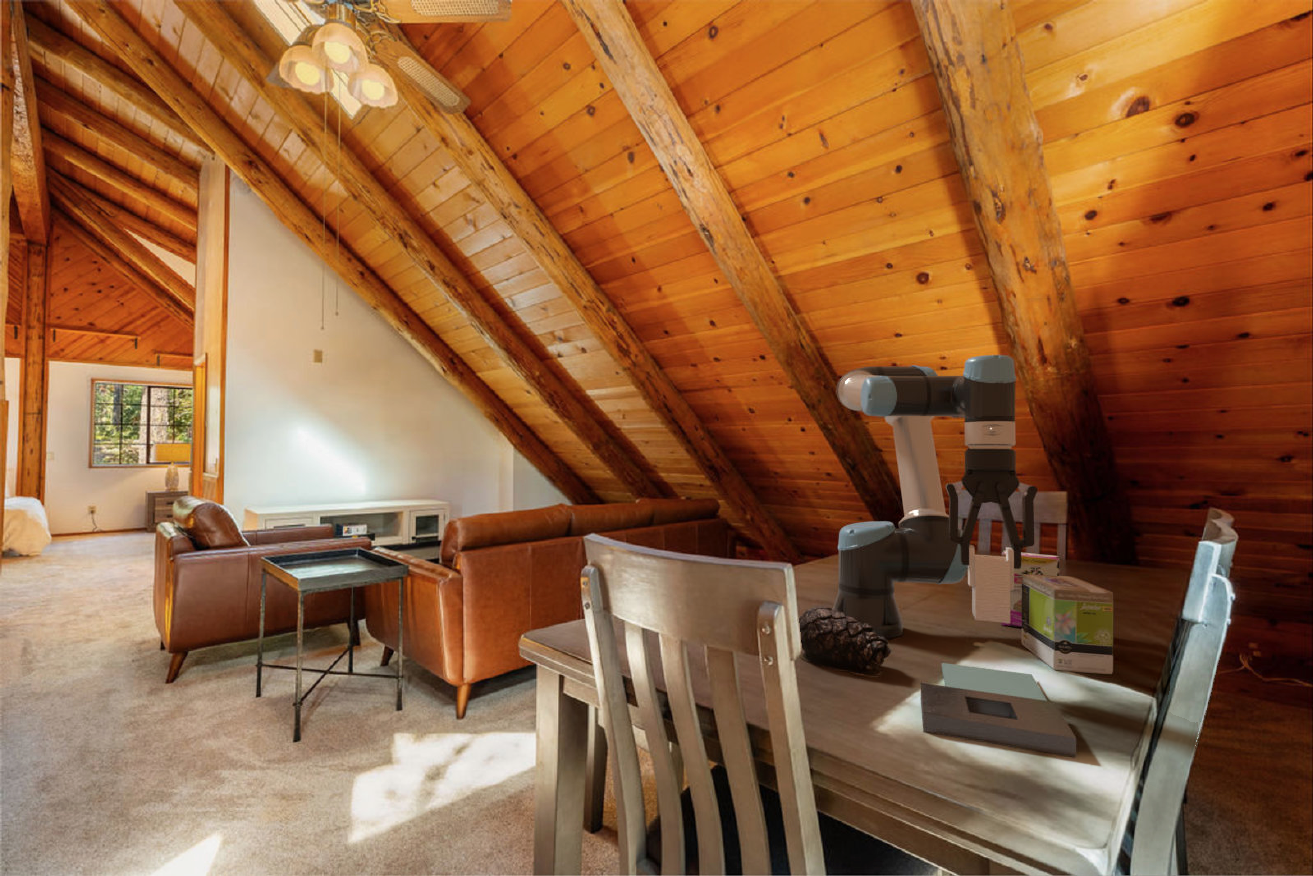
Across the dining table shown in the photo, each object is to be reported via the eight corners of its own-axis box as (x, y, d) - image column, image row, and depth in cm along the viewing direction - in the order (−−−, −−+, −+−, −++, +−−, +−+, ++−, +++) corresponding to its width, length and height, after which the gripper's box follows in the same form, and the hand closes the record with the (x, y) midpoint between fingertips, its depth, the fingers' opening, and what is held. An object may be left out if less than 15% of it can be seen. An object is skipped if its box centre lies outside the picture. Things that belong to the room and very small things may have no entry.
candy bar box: (1000, 626, 135) (1000, 553, 135) (1001, 620, 139) (1001, 550, 139) (1060, 634, 129) (1059, 558, 129) (1059, 628, 133) (1059, 555, 133)
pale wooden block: (975, 619, 99) (975, 559, 99) (972, 612, 103) (971, 554, 103) (1010, 623, 97) (1010, 561, 97) (1005, 615, 101) (1005, 556, 102)
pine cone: (886, 683, 101) (886, 624, 101) (786, 661, 111) (786, 607, 111) (900, 665, 110) (900, 610, 110) (806, 646, 120) (806, 596, 120)
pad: (946, 693, 97) (946, 687, 97) (941, 668, 108) (941, 662, 108) (1047, 708, 92) (1047, 701, 92) (1031, 680, 103) (1031, 674, 103)
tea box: (1116, 676, 105) (1115, 591, 106) (1052, 671, 107) (1052, 588, 108) (1074, 648, 120) (1074, 574, 120) (1019, 644, 122) (1019, 572, 122)
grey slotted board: (923, 731, 84) (923, 713, 84) (920, 698, 95) (920, 682, 95) (1076, 757, 77) (1076, 738, 77) (1053, 718, 88) (1053, 701, 88)
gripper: (932, 447, 101) (932, 586, 100) (1058, 447, 94) (1059, 596, 93) (929, 447, 107) (930, 577, 107) (1047, 448, 101) (1048, 586, 100)
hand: (990, 586), depth 100 cm, fingers closed on pale wooden block, 5 cm apart
